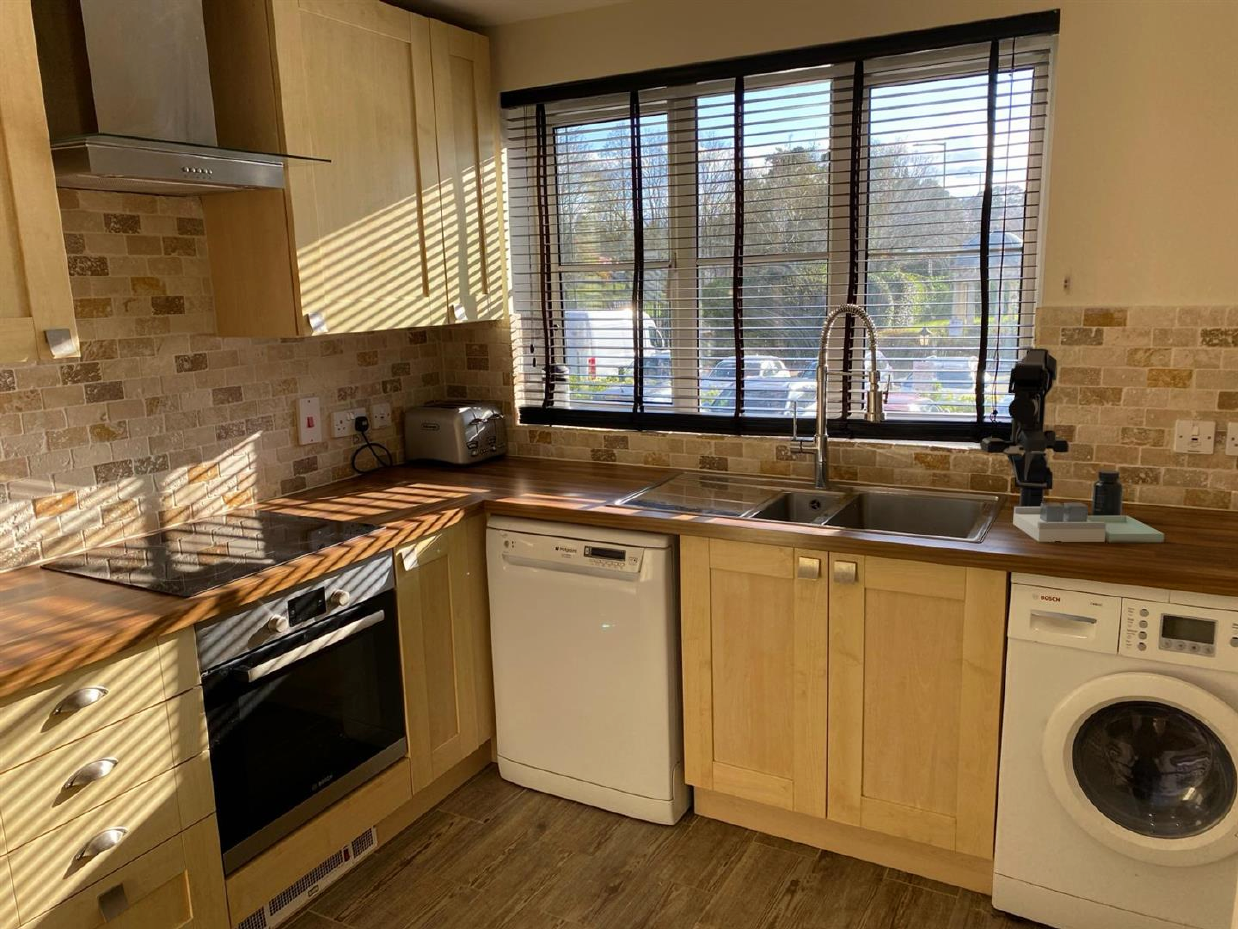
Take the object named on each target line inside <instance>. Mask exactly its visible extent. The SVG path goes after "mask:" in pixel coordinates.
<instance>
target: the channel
mask: <svg viewBox="0 0 1238 929" xmlns="http://www.w3.org/2000/svg"><path fill="white" fill-rule="evenodd" d="M1040 509H1041V507H1015V506H1013V518H1012V524H1013V526H1014V527H1015V526H1016V528H1018V529H1020V530H1021V531H1022V532H1024V533H1026V535H1028V536H1030V537H1031V538H1032V539H1034V541H1036V542H1038V543H1039V542H1040V543H1043V542H1044V543H1046V542H1049V543H1056V542H1055V541H1061V542H1062V543H1063V542H1067V543H1069V542H1070V543H1072V542H1073V543H1074V542H1076V543H1078V542H1079V543H1080V542H1083V543H1085V542H1086V543H1087V542H1091V543H1092V542H1093V543H1094V542H1095V543H1097V542H1099V543H1100V542H1101V543H1102V542H1103V543H1104V542H1105V541H1106V540H1105V530H1106V523H1105V522H1092V521H1090V520H1088V519H1087V522H1068V521H1066V520H1065V519H1064V520H1063V522H1045V521H1043V520H1041V519H1040ZM1061 542H1060V543H1061Z"/></svg>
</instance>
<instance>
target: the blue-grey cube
mask: <svg viewBox="0 0 1238 929" xmlns="http://www.w3.org/2000/svg"><path fill="white" fill-rule="evenodd" d="M1040 519H1041V520H1043V521H1045V522H1063V520H1064V504H1061V503H1059V502H1043V503H1041V509H1040Z"/></svg>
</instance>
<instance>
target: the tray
mask: <svg viewBox="0 0 1238 929" xmlns="http://www.w3.org/2000/svg"><path fill="white" fill-rule="evenodd" d="M1087 519H1088V520H1090V521H1092V522H1105V523H1106V530H1105V541H1107V542H1109V543H1165V542H1164V540H1165V533H1164V532H1161V531H1159V530H1157V529H1155V528H1153V527H1151V526H1149V525H1147V524H1145V523H1143V522H1141V521H1139V520H1137V519H1135V518H1133V517H1132V516H1129V515H1121V516H1093V515H1087Z"/></svg>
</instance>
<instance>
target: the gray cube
mask: <svg viewBox="0 0 1238 929" xmlns="http://www.w3.org/2000/svg"><path fill="white" fill-rule="evenodd" d="M1063 506H1064V519H1065V520H1066V521H1068V522H1087V516H1089V515H1088V512H1089V505H1086V504H1085V503H1082V502H1063Z"/></svg>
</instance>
